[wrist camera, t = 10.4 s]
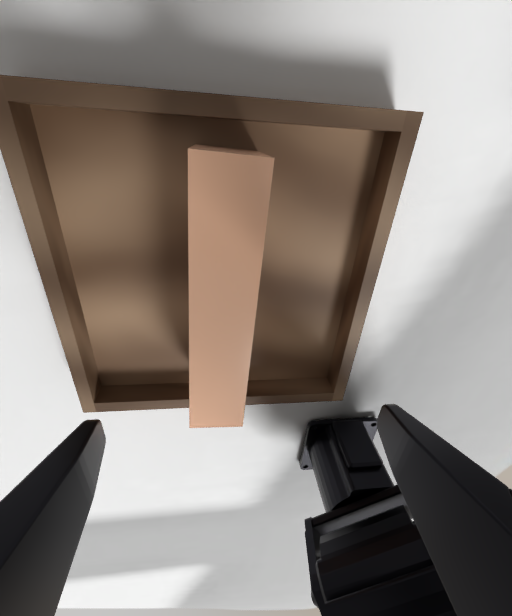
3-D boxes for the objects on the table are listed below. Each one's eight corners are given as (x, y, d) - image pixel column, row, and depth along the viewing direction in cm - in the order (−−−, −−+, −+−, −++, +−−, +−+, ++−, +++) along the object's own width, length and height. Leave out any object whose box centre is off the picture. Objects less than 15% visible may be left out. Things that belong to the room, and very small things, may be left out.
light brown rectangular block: (237, 368, 22) (242, 426, 17) (194, 368, 21) (189, 427, 17) (257, 150, 15) (274, 158, 11) (195, 144, 15) (187, 148, 10)
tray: (331, 378, 24) (342, 400, 22) (95, 386, 22) (83, 412, 20) (396, 115, 16) (423, 112, 14) (13, 82, 13) (-24, 73, 11)
